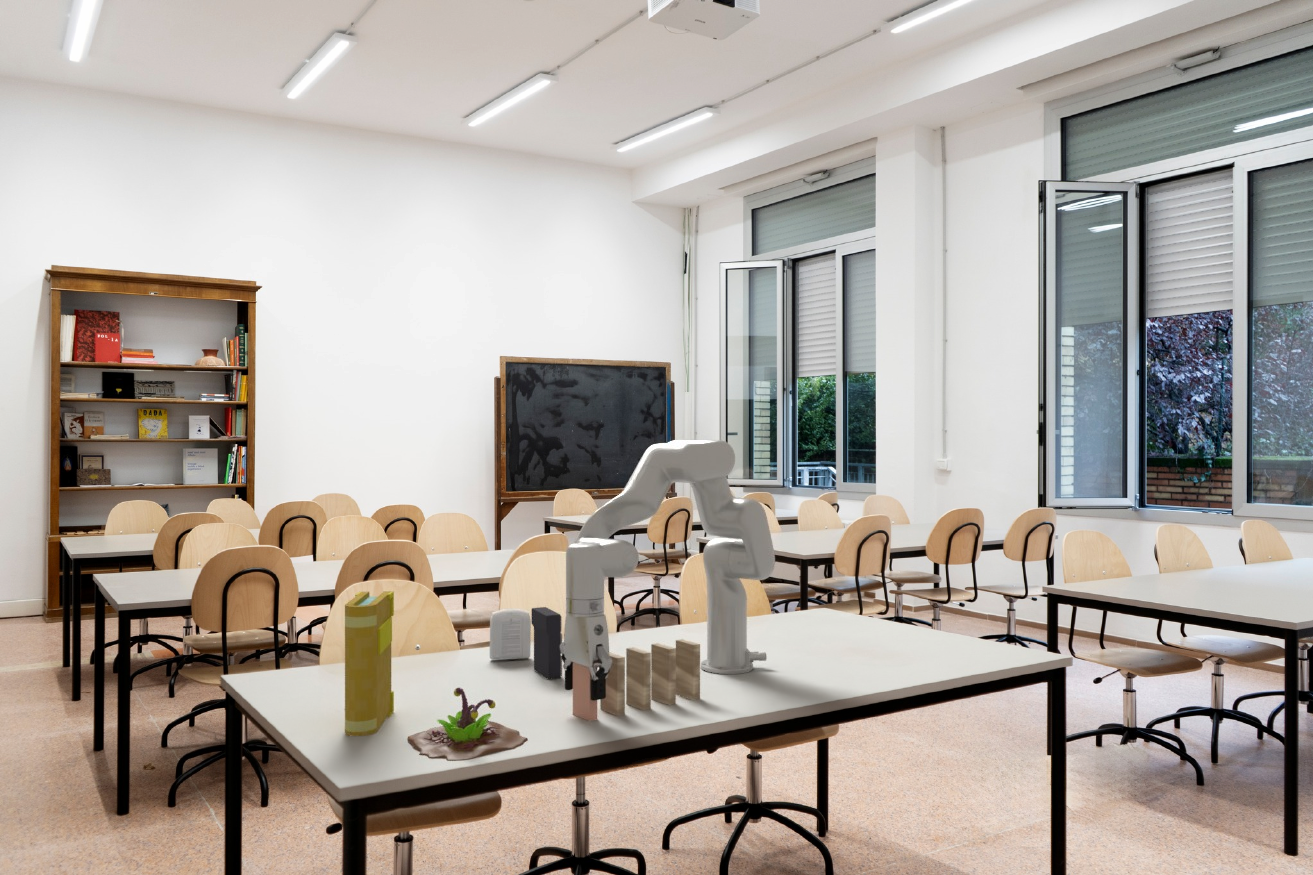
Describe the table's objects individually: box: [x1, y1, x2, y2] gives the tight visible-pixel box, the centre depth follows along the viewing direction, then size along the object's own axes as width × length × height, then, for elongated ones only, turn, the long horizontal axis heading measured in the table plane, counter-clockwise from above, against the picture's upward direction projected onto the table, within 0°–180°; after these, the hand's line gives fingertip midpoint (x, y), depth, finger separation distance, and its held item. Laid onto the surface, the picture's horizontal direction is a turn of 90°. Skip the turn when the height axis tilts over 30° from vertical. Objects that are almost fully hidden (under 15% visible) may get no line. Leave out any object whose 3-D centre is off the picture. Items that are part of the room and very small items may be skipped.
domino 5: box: [675, 638, 701, 701], centre depth 206 cm, size 2×6×12 cm, turn 37°
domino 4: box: [650, 642, 677, 706], centre depth 202 cm, size 2×6×12 cm, turn 38°
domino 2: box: [599, 651, 626, 716], centre depth 194 cm, size 2×6×12 cm, turn 37°
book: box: [344, 590, 395, 737], centre depth 186 cm, size 17×7×25 cm, turn 5°
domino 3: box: [625, 646, 652, 711], centre depth 198 cm, size 2×6×12 cm, turn 37°
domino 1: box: [572, 662, 598, 722], centre depth 190 cm, size 2×6×12 cm, turn 38°
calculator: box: [531, 606, 563, 681], centre depth 228 cm, size 11×4×15 cm, turn 26°
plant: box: [407, 687, 528, 762], centre depth 174 cm, size 20×20×11 cm
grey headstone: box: [489, 608, 532, 660], centre depth 244 cm, size 10×4×12 cm, turn 103°
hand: (584, 693), depth 190 cm, fingers open, 8 cm apart
